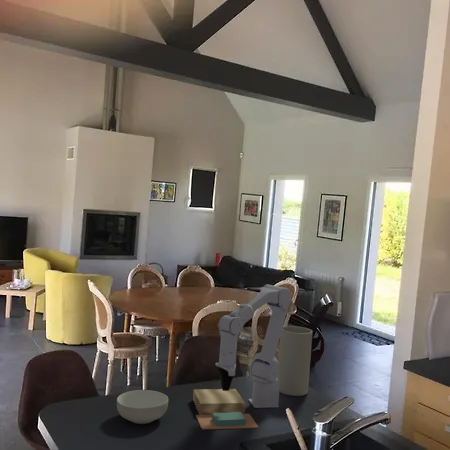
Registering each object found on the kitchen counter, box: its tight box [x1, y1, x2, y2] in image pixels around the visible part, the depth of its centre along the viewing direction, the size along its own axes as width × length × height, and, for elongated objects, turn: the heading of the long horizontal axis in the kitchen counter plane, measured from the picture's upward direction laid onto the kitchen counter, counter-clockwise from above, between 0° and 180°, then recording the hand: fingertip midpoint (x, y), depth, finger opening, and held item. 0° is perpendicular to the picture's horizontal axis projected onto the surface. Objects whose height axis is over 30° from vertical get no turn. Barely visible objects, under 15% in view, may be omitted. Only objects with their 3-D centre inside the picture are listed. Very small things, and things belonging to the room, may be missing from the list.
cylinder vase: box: [276, 325, 313, 397], centre depth 211 cm, size 12×12×25 cm
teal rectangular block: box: [212, 412, 246, 426], centre depth 175 cm, size 10×6×2 cm, turn 105°
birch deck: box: [192, 388, 246, 415], centre depth 188 cm, size 16×14×4 cm
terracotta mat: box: [195, 413, 259, 430], centre depth 176 cm, size 19×11×1 cm, turn 103°
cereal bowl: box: [116, 389, 169, 425], centre depth 173 cm, size 17×17×7 cm
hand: (225, 390), depth 180 cm, fingers closed
